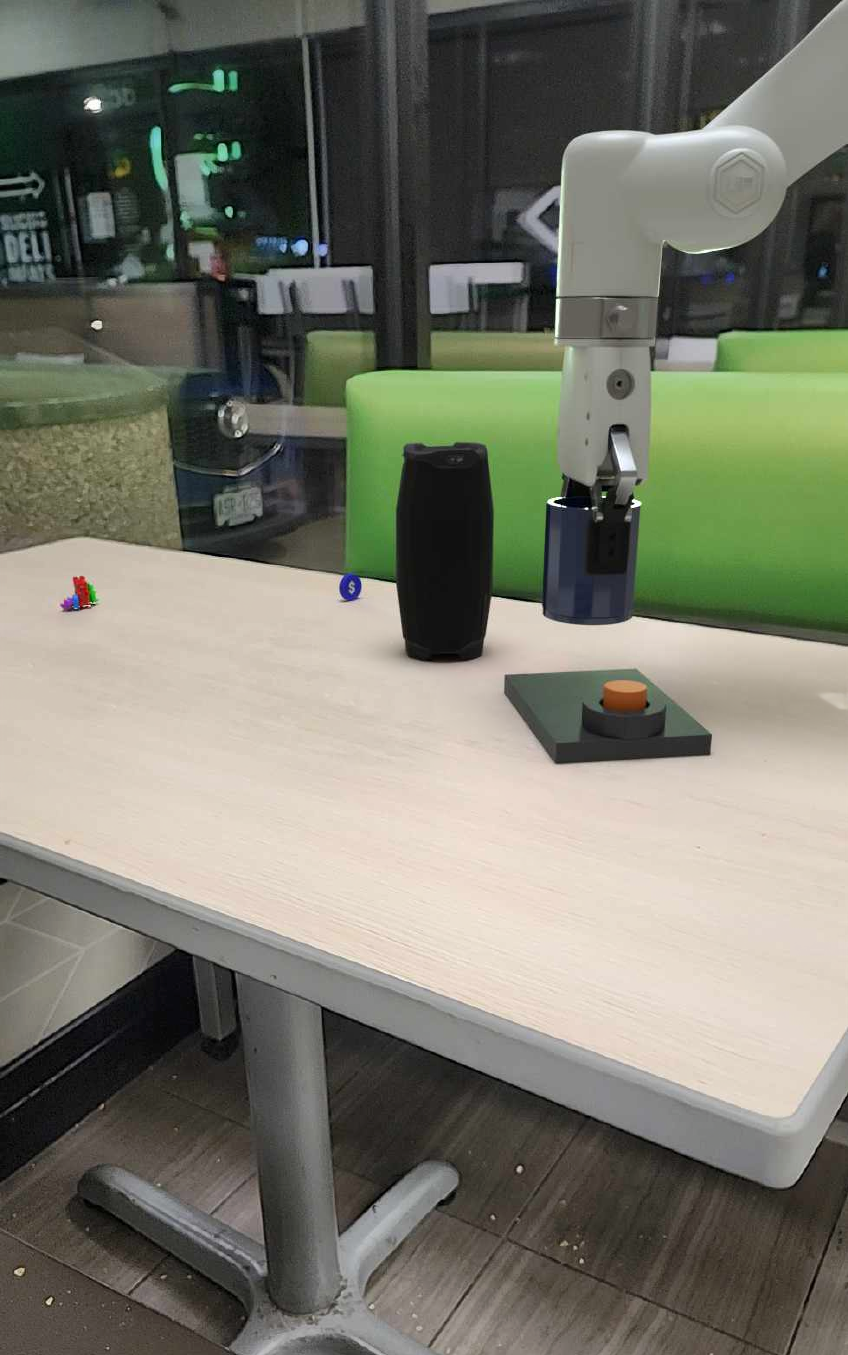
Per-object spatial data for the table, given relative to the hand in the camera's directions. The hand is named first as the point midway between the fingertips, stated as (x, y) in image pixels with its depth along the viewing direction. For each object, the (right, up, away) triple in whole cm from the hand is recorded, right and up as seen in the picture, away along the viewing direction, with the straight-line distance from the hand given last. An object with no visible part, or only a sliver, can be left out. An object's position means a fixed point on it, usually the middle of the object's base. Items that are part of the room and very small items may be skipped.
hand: (590, 561), depth 93 cm
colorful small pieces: (-53, +4, +39) cm, 66 cm away
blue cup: (0, -4, +2) cm, 4 cm away
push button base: (+1, -13, +1) cm, 13 cm away
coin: (-22, +5, +42) cm, 48 cm away
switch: (+2, -13, -6) cm, 14 cm away
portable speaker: (-11, -4, +21) cm, 24 cm away
